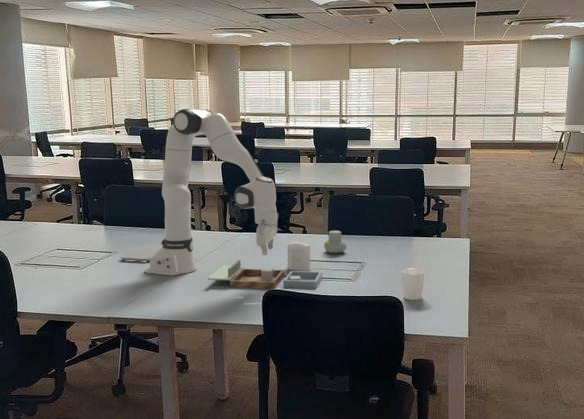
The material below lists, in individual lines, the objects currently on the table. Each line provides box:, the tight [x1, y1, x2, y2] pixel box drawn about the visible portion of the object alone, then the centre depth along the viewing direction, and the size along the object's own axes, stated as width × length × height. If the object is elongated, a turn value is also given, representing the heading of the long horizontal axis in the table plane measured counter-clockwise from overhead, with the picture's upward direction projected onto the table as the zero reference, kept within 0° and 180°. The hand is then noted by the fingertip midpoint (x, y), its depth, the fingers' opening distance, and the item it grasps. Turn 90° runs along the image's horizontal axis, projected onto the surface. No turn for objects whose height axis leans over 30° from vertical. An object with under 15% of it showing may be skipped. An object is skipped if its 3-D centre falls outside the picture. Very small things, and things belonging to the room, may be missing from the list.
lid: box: [207, 259, 244, 281], centre depth 262 cm, size 9×19×4 cm, turn 168°
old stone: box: [290, 276, 301, 281], centre depth 254 cm, size 4×4×3 cm
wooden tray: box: [229, 268, 286, 290], centre depth 259 cm, size 18×18×3 cm
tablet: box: [120, 244, 162, 261], centre depth 309 cm, size 16×26×2 cm, turn 164°
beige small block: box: [261, 267, 274, 282], centre depth 258 cm, size 4×4×5 cm
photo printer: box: [287, 241, 311, 272], centre depth 275 cm, size 10×4×12 cm, turn 60°
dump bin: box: [282, 270, 323, 289], centre depth 257 cm, size 13×14×3 cm
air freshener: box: [323, 230, 347, 254], centre depth 305 cm, size 11×8×10 cm
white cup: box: [401, 268, 425, 301], centre depth 235 cm, size 8×8×10 cm
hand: (267, 251), depth 257 cm, fingers open, 8 cm apart
